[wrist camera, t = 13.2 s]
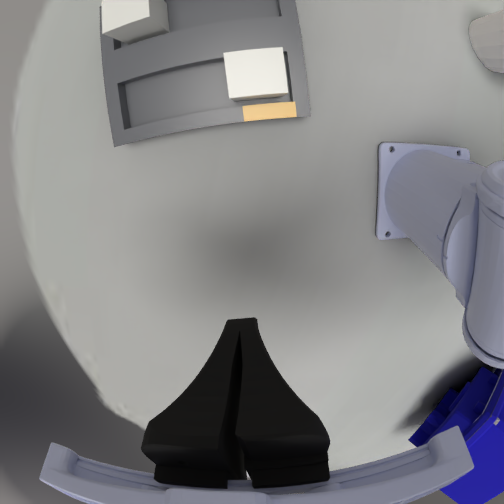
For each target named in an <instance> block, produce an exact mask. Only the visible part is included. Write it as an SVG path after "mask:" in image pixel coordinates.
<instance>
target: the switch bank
mask: <svg viewBox="0 0 504 504" xmlns="http://www.w3.org/2000/svg"><path fill="white" fill-rule="evenodd" d="M164 1H165V2H166V3H167V9H168V21H169V31H170V33H166V34H162V35H159V36H155V37H152V38H148V39H145V40H142V41H139V42H136V43H133V44H130V45H129V44H126V43H124V42H122V41H119V40H117V39H114V38H112V37H109V36H107V35H104V34H102V6H100V36H101V53H102V65H103V75H104V84H105V93H106V100H107V107H108V114H109V120H110V126H111V132H112V138H113V143H114V147H117V146H120V145H124V144H128V143H132V142H136V141H139V140H144V139H148V138H152V137H156V136H161V135H165V134H170V133H175V132H180V131H185V130H191V129H196V128H202V127H208V126H215V125H221V124H228V123H236V122H245V121H254V120H264V119H275V118H289V117H307V116H311V113H310V103H309V93H308V84H307V75H306V67H305V60H304V52H303V45H302V39H301V32H300V26H299V20H298V14H297V8H296V3H295V0H164ZM276 47H283V54H284V62H285V69H286V77H287V86H288V93H287V94H286V95H284V96H282V97H277V98H264V99H254V100H245V101H237V102H234V101H233V100H231V99H229V93H228V85H227V77H226V70H225V62H224V54H223V53H226V52H233V51H242V50H251V49H262V48H276Z"/></svg>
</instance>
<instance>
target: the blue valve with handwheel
mask: <svg viewBox="0 0 504 504" xmlns="http://www.w3.org/2000/svg"><path fill="white" fill-rule="evenodd" d="M455 426H459V429H460V431H461V433H462V436H463V438H464V441H465V443H466V446H467V448H468V451H469V453H470V456H471V459H472V461H473V464H474V468H473V469H472V470H471V471H469V472H468V473H466V474H465V475H463V476H462V477H460V478H459V479H457V480H456V481H454V482H452V483H451V484H449V485H447V486H445V487H443V488H441V489H439V490H441V491H442V492H443V493H445V494H446V495H447V496H449V497H450V498H452V499H453V500H454V501H456V502H457V503H458V504H484V503H485V502H487V501H489V500H490V499H492V498H494V497H495V496H497V495H498V494H500V493H502V492H503V491H504V369H500V368H497V369H496V370H495V372H494V373H492V372H491V371H489V370H487V369H486V368H484V367H481V368H480V369H479V371H478V373H477V374H476V376H475V377H474V378H473V380H472V381H471V383H470V382H467V383H466V385H465V386H464V387H463V389H462V390H461V392H460V393H458V392H456V391H455V390H453V389H452V388H450V389H449V391H448V392H447V393H446V395H445V396H444V398H443V399H442V400H441V401H440V403H439V404H438V405H437V407H436V408H435V409H434V410H433V411H432V413H431V414H430V415H429V416H428V418H427V419H426V420H425V421H424V423H423V424H422V425H421V426H420V427H419V429H418V430H417V431H416V432H415V433H414V434H413V435H412V436H411V437H410V439H409V441H410V442H411V443H412V444H414V445H415V446H416V447H419V446H422V445H425V444H427V443H428V442H429V440H430V439H431V438H433V437H434V436H435V435H437V434H439V433H441V432H444V431H446V430H448V429H450V428H452V427H455Z"/></svg>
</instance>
